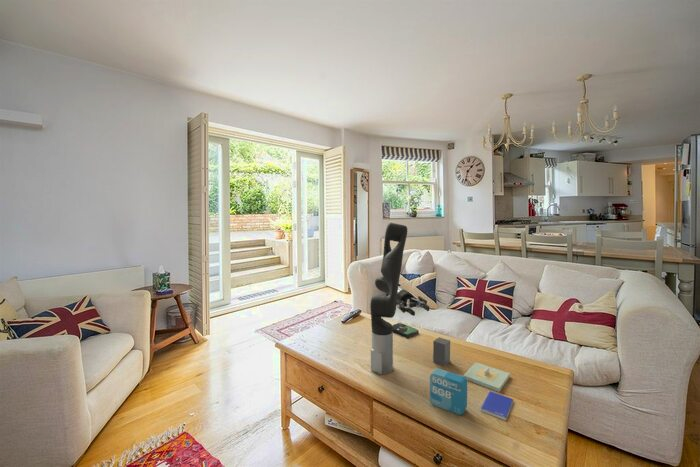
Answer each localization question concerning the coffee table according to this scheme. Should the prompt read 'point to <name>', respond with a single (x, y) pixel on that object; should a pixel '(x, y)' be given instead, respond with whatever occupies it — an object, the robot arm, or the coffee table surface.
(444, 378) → the data package
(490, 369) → the pin board
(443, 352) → the block
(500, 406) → the hard drive
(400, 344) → the coffee table surface
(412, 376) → the coffee table surface
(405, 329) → the disk drive
